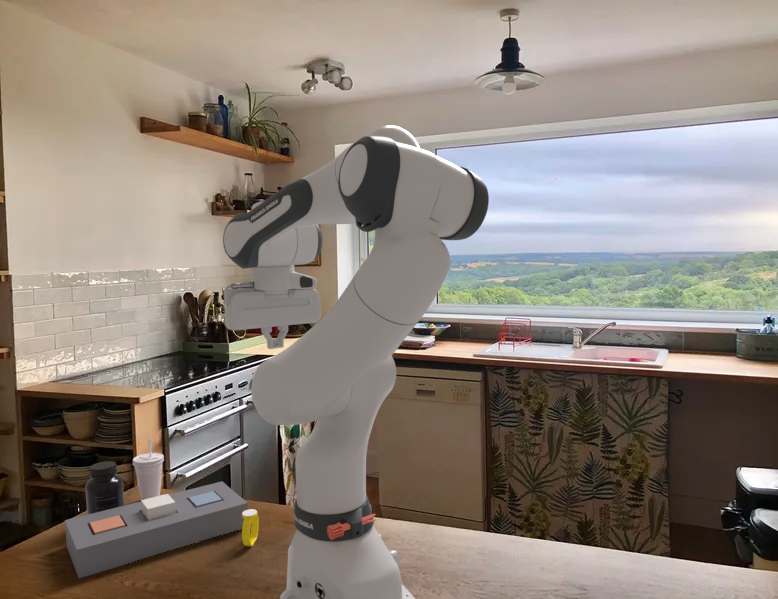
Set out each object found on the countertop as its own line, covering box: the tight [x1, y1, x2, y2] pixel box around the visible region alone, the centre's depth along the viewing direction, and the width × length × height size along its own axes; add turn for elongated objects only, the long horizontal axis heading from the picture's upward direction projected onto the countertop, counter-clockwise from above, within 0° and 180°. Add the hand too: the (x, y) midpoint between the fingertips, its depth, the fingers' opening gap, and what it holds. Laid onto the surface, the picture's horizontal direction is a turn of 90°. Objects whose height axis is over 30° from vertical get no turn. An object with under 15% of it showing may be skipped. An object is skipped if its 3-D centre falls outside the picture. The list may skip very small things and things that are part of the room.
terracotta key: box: [90, 515, 125, 535], centre depth 109 cm, size 5×5×4 cm
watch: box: [241, 508, 260, 547], centre depth 111 cm, size 6×3×6 cm, turn 176°
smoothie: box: [132, 437, 165, 501], centre depth 131 cm, size 6×6×14 cm
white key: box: [140, 493, 176, 521], centre depth 114 cm, size 5×5×4 cm
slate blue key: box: [189, 491, 222, 508], centre depth 120 cm, size 5×5×4 cm
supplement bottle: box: [84, 461, 125, 515], centre depth 121 cm, size 7×7×12 cm
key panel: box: [64, 481, 249, 579], centre depth 114 cm, size 30×14×5 cm, turn 126°
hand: (275, 348), depth 123 cm, fingers closed
